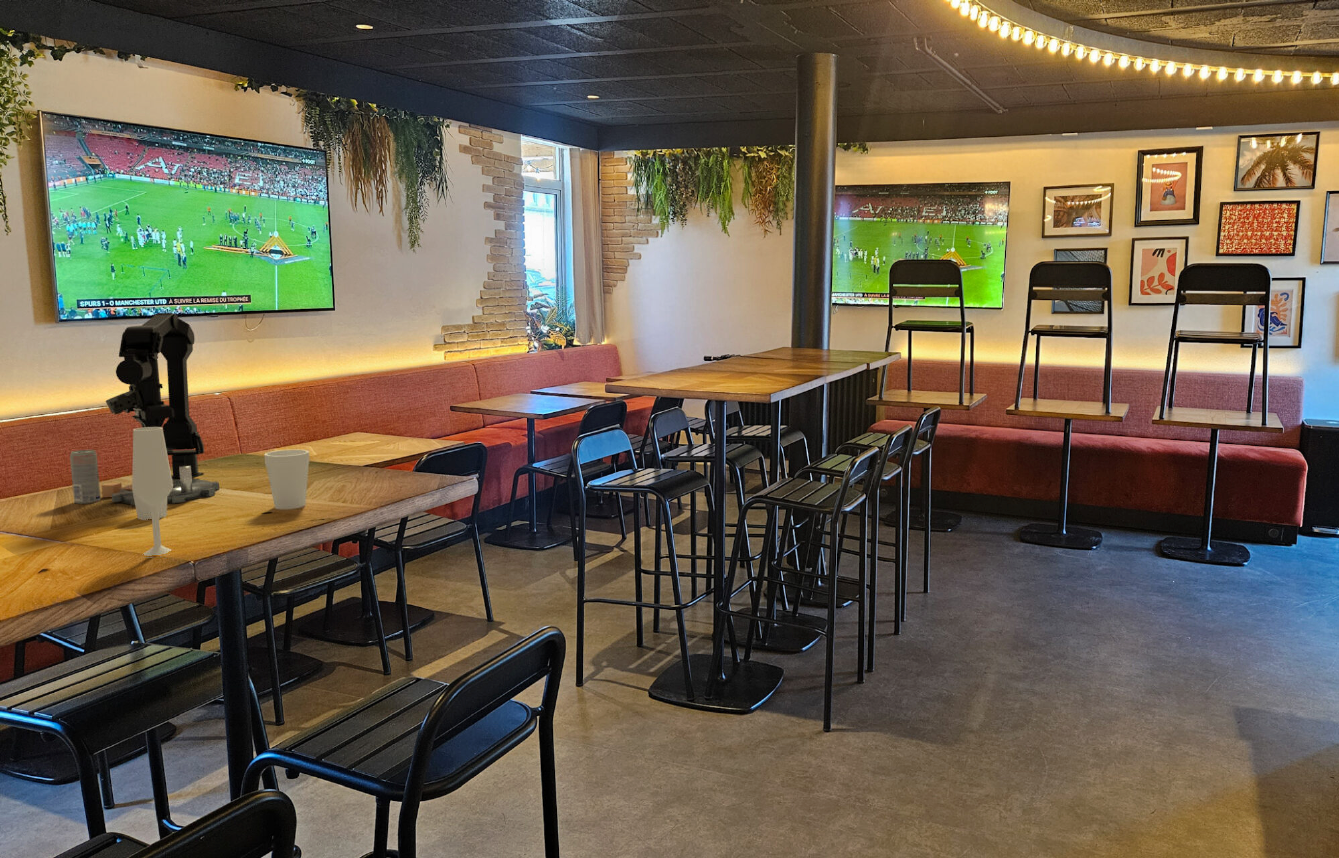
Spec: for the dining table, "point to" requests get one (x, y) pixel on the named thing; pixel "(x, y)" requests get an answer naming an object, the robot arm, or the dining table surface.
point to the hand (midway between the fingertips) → (151, 444)
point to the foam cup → (288, 477)
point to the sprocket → (175, 489)
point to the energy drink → (85, 476)
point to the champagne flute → (151, 476)
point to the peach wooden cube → (110, 489)
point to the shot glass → (149, 508)
